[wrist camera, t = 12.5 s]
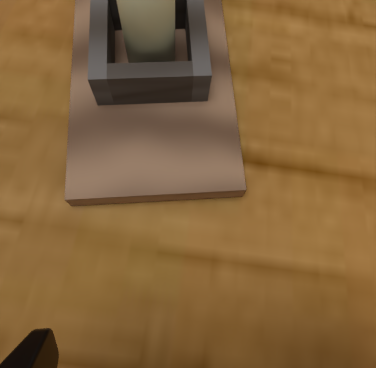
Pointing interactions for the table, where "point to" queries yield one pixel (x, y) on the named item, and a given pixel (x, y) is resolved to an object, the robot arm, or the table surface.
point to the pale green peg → (148, 29)
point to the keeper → (151, 112)
